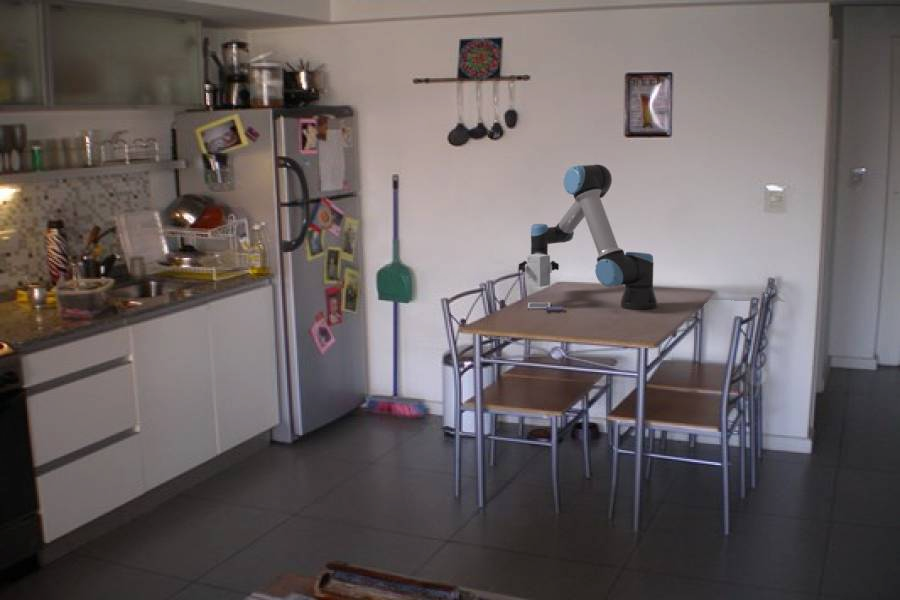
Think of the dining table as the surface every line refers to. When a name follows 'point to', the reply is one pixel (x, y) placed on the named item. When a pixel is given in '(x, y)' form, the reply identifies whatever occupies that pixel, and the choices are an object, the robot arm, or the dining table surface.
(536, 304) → the print card
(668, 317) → the dining table surface
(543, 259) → the small box
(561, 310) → the ink pad
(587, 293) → the dining table surface
